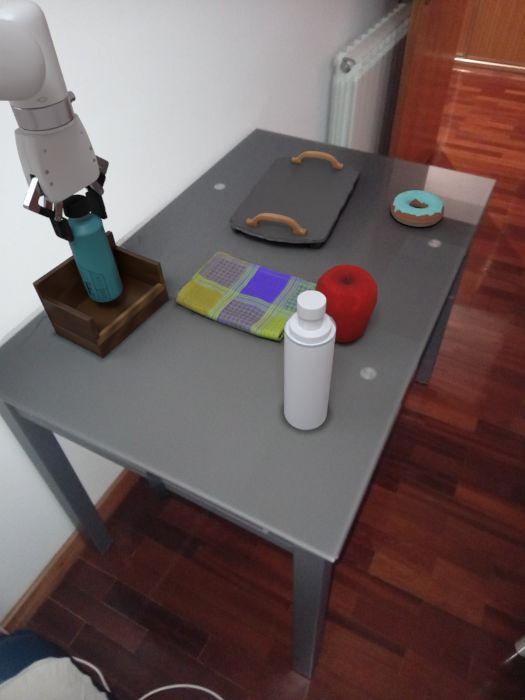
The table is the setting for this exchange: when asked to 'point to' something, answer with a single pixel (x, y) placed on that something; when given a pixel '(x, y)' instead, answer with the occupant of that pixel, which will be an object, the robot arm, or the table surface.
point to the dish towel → (243, 295)
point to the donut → (417, 208)
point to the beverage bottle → (92, 250)
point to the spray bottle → (308, 361)
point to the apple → (348, 299)
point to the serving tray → (297, 199)
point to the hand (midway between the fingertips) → (83, 226)
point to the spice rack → (102, 317)
